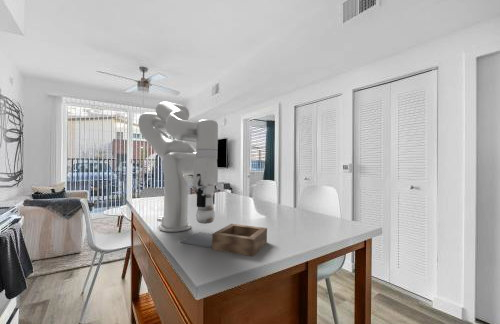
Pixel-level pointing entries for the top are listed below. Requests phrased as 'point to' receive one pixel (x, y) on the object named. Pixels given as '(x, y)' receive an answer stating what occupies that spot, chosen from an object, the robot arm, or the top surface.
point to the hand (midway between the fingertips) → (205, 205)
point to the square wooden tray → (239, 239)
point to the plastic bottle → (207, 204)
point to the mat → (199, 239)
